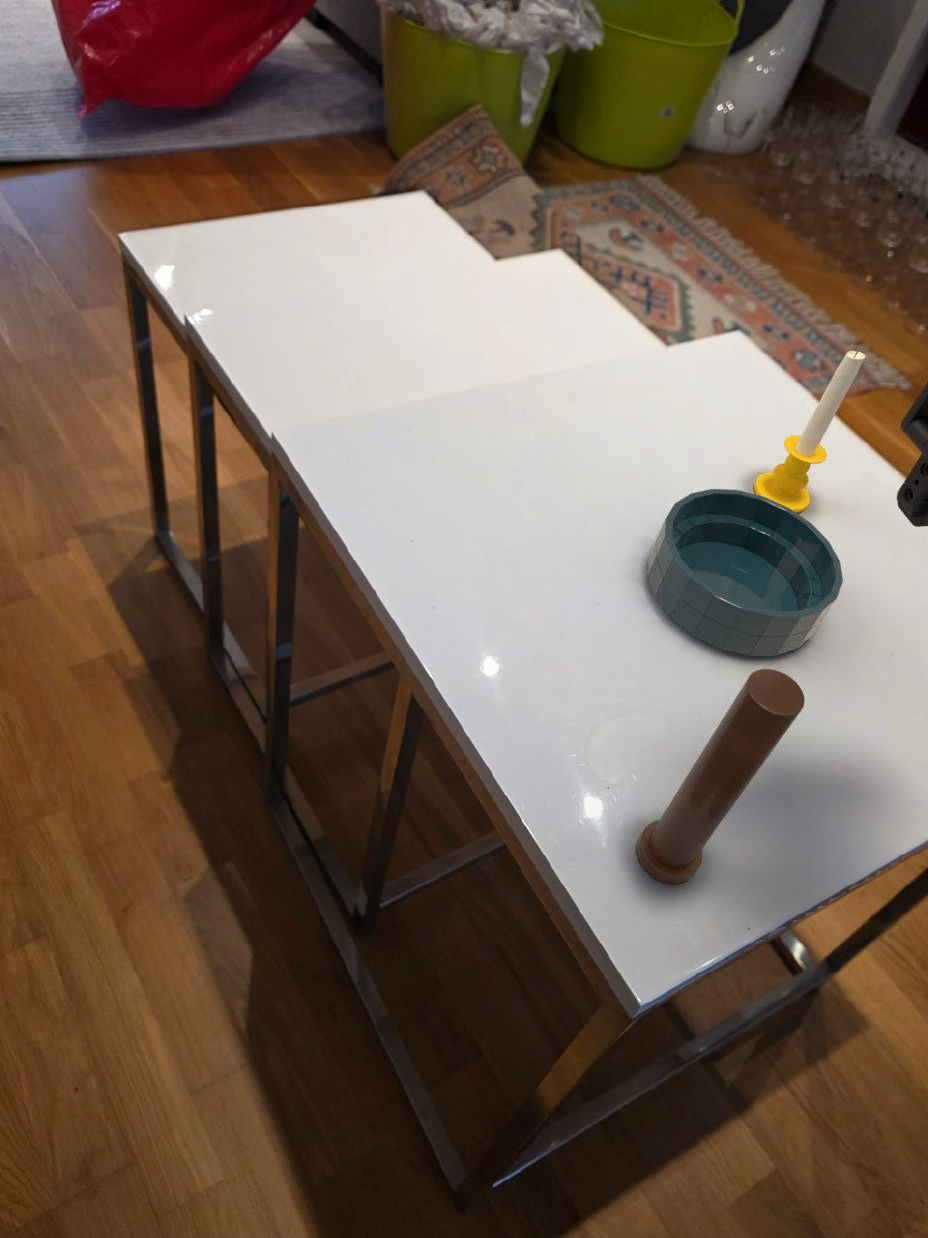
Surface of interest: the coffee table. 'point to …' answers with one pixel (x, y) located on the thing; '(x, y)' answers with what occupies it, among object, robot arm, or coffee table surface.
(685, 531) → the bowl
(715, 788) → the rod
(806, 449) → the candle
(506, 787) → the coffee table surface
